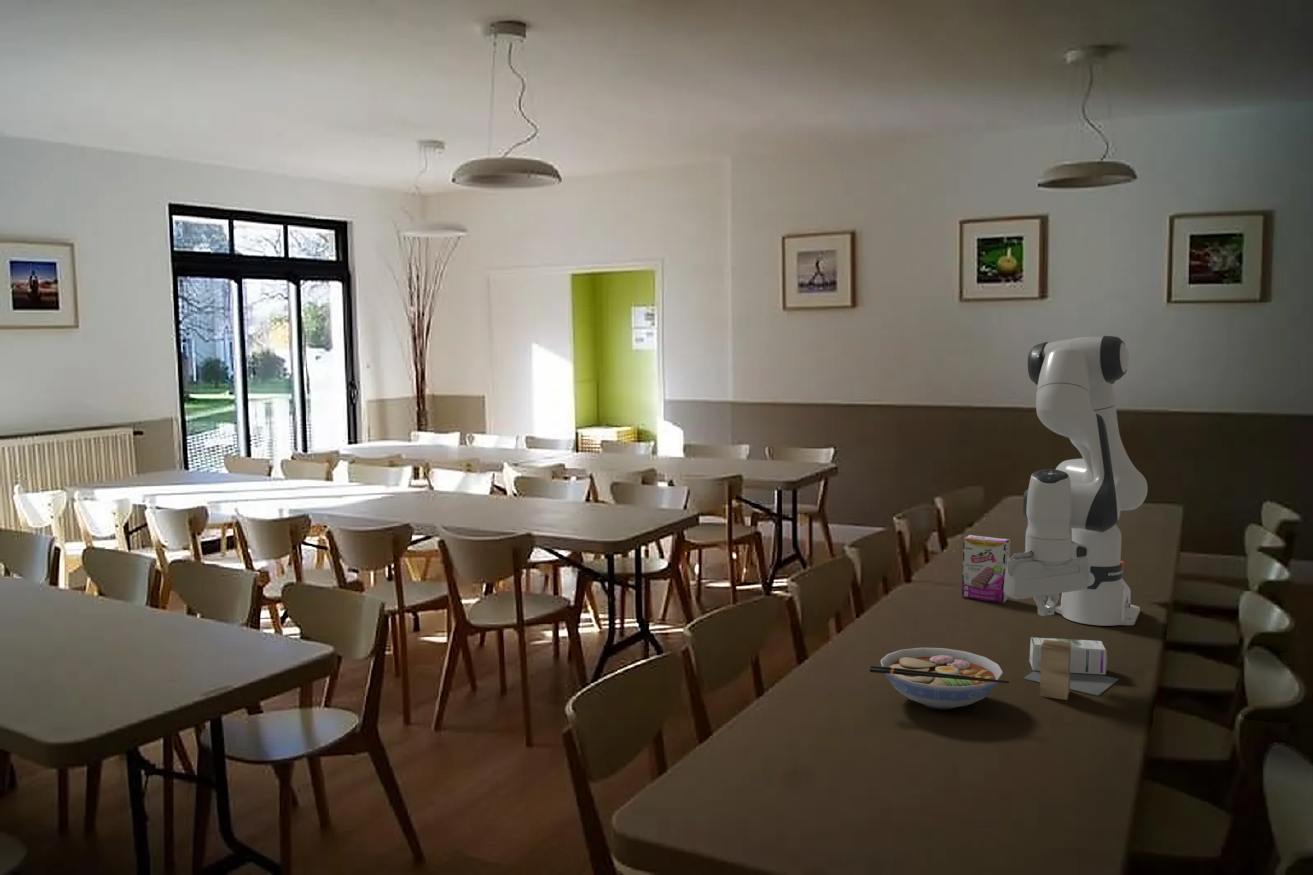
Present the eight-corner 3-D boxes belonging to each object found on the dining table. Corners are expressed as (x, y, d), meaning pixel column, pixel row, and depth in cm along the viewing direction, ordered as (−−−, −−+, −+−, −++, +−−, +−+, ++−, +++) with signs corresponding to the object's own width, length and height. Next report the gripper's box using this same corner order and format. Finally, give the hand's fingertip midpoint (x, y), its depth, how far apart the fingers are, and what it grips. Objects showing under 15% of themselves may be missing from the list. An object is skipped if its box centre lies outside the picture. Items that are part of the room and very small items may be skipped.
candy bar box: (961, 598, 271) (962, 537, 269) (966, 593, 275) (967, 534, 273) (1004, 604, 265) (1005, 542, 263) (1008, 599, 269) (1010, 538, 267)
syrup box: (1032, 671, 213) (1106, 677, 210) (1033, 644, 213) (1107, 649, 209) (1029, 661, 219) (1101, 667, 215) (1030, 635, 218) (1103, 640, 214)
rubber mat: (1045, 664, 218) (1045, 663, 218) (1118, 679, 208) (1118, 678, 208) (1023, 679, 209) (1023, 678, 209) (1098, 696, 199) (1098, 695, 199)
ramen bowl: (1008, 689, 204) (1009, 649, 203) (1007, 733, 182) (1009, 689, 181) (881, 676, 212) (881, 638, 211) (866, 717, 190) (867, 674, 189)
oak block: (1042, 687, 204) (1044, 639, 203) (1069, 691, 202) (1071, 642, 201) (1039, 695, 200) (1041, 646, 199) (1067, 699, 198) (1068, 650, 197)
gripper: (1019, 557, 202) (1017, 625, 204) (1096, 547, 211) (1094, 612, 212) (997, 551, 208) (995, 617, 210) (1073, 541, 216) (1070, 605, 218)
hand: (1045, 614), depth 211 cm, fingers closed
